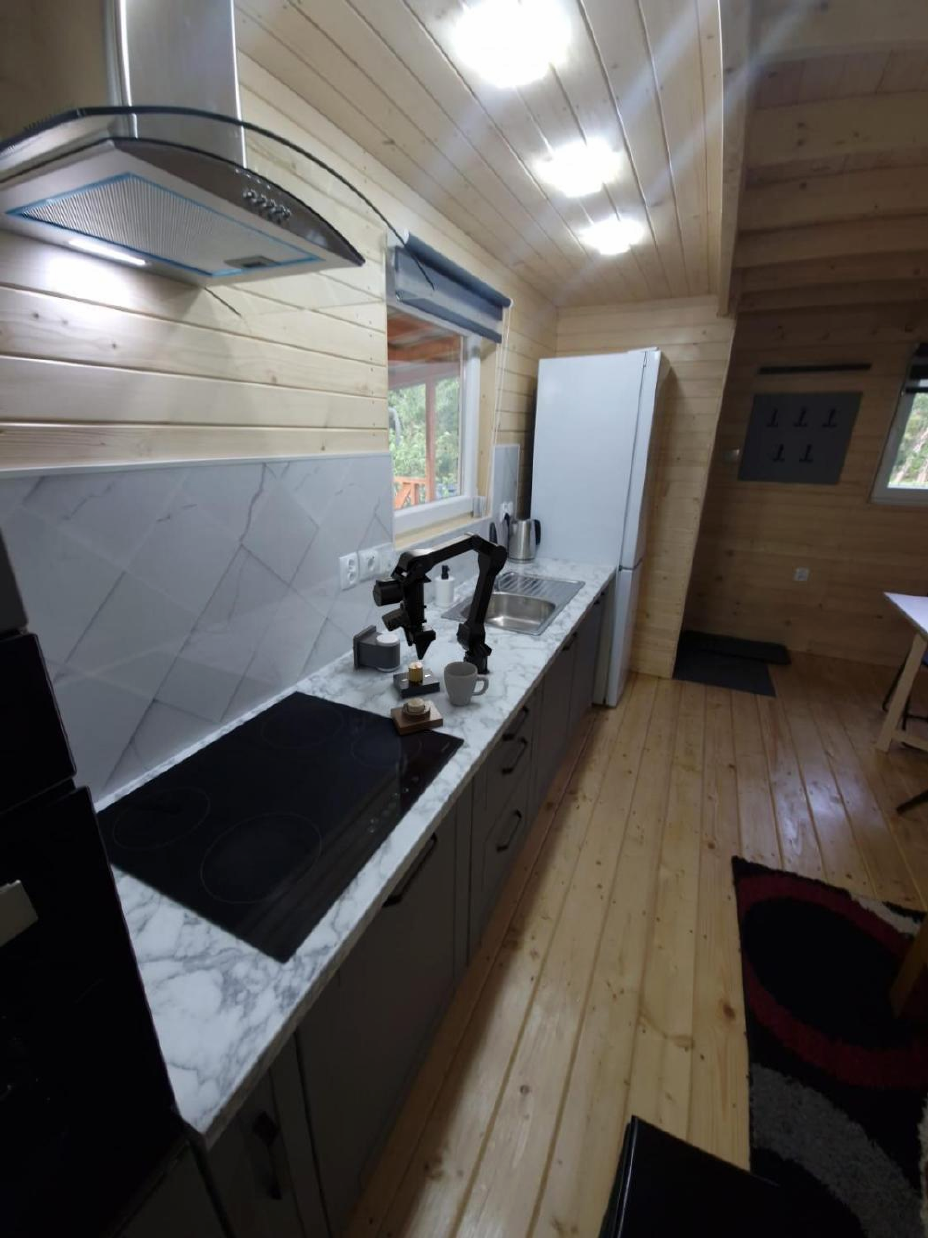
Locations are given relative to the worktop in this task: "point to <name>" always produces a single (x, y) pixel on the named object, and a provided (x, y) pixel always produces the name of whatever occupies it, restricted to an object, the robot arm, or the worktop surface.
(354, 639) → the light fixture
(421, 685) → the dimmer panel
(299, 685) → the worktop surface
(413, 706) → the button
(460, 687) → the mug
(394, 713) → the switch block
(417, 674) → the dimmer knob
